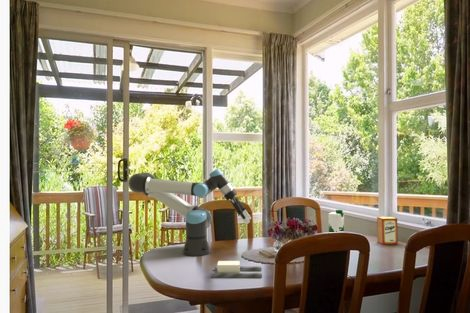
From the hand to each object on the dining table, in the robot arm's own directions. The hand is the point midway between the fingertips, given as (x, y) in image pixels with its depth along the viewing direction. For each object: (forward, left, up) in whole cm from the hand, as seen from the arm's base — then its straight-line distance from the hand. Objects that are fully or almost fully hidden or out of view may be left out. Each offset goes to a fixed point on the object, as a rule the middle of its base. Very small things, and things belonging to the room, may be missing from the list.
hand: (249, 221), depth 213 cm
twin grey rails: (-5, -50, -16) cm, 52 cm away
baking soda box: (+85, +13, -16) cm, 88 cm away
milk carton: (+55, +18, -16) cm, 60 cm away
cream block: (-9, -50, -16) cm, 53 cm away
